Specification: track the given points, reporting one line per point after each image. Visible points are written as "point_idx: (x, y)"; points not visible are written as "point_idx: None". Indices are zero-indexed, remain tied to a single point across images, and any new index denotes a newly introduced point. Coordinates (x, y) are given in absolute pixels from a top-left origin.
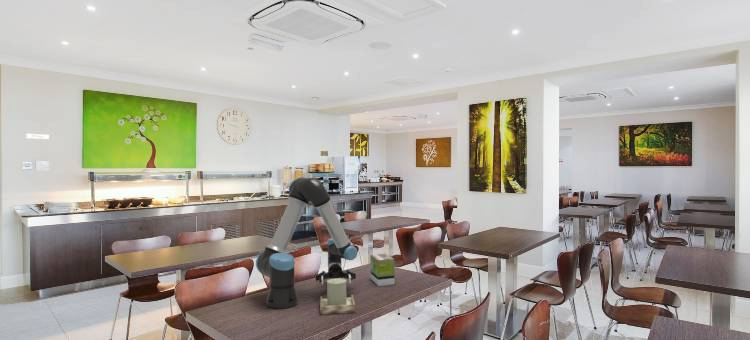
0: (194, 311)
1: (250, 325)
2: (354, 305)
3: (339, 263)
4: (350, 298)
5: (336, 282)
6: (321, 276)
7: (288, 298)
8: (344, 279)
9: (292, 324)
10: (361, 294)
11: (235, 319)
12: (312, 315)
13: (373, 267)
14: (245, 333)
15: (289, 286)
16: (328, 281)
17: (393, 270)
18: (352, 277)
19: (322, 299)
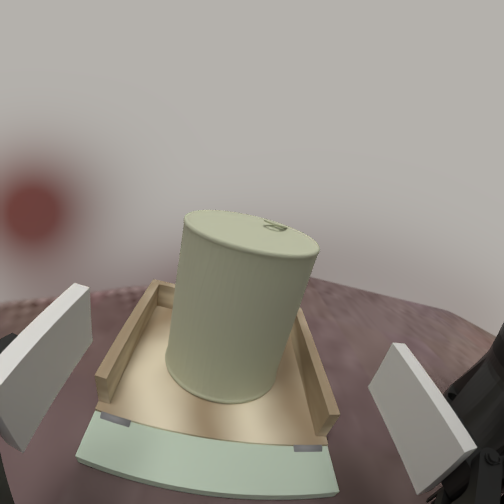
0: None
1: (437, 323)
2: (156, 282)
3: None
4: (98, 439)
5: (253, 222)
6: (473, 462)
7: (462, 375)
8: (192, 223)
9: (353, 308)
10: None
11: (485, 348)
12: (319, 337)
13: None
14: (417, 303)
15: (496, 339)
16: (306, 241)
17: None
18: (11, 335)
19: (322, 478)
